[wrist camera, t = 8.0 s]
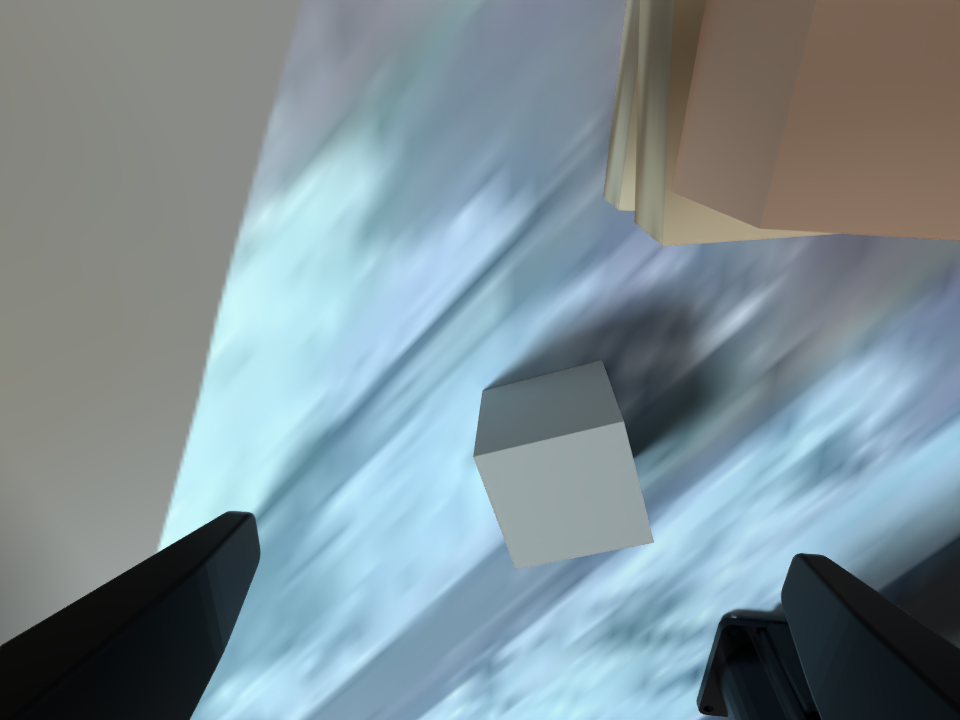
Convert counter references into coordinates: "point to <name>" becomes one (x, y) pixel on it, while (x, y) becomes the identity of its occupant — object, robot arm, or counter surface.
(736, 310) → the counter surface
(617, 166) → the olive tan squat block
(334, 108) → the counter surface
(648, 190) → the beige squat block
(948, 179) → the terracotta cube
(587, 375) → the grey block
